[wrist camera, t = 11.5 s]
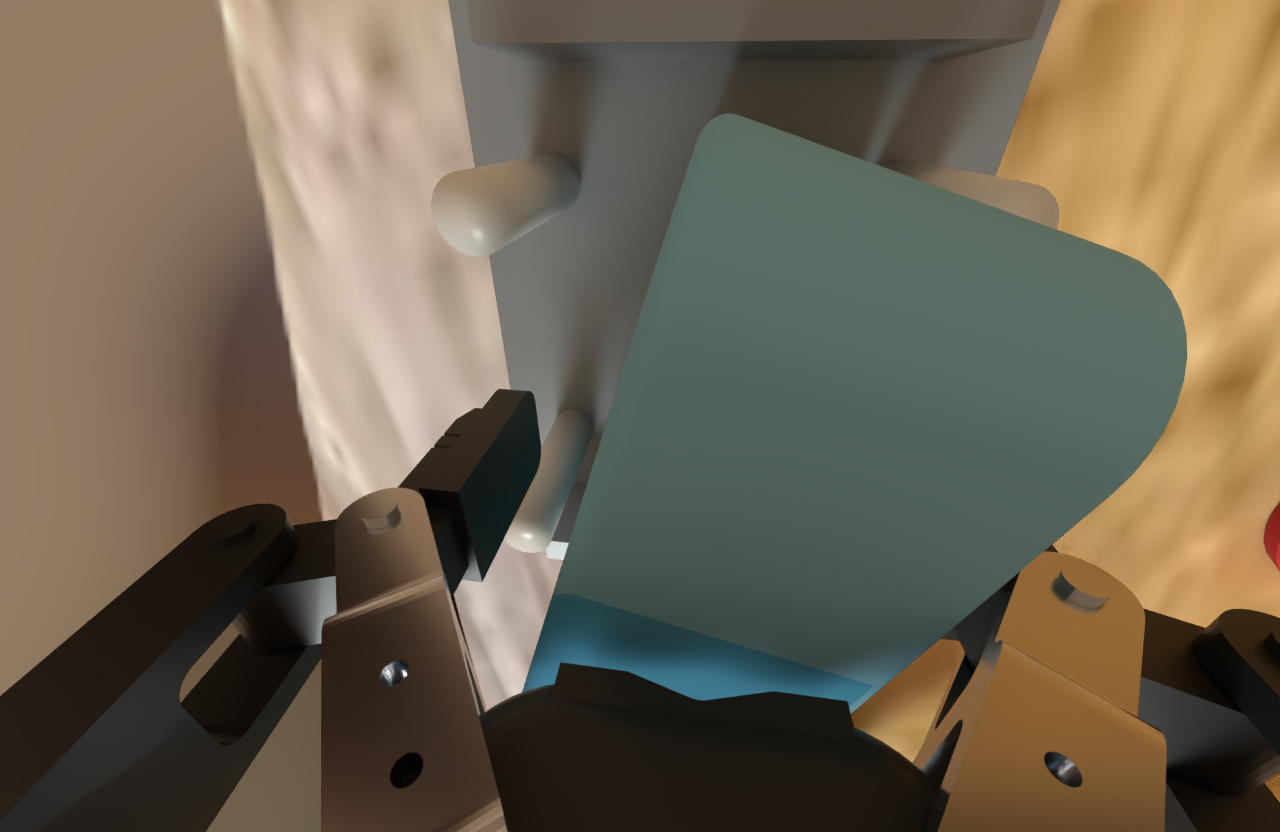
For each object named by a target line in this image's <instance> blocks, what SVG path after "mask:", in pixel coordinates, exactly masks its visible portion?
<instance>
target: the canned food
mask: <svg viewBox="0 0 1280 832" xmlns="http://www.w3.org/2000/svg"><path fill="white" fill-rule="evenodd" d="M1264 545H1265V549H1266V552H1267V554H1268V555H1269V557H1270V558H1271V560H1272V561H1273V562H1274V564H1275V565H1276V567H1277V568H1278V570H1279V571H1280V505H1279V506H1278V508H1277V509H1276V510H1275V511H1274V513H1273V514H1272V516H1271V518H1270V520H1269V522H1268V524H1267V527H1266V529H1265V535H1264Z"/></svg>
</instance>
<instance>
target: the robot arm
mask: <svg viewBox="0 0 1280 832" xmlns="http://www.w3.org/2000/svg"><path fill="white" fill-rule="evenodd" d="M540 460H541V441H540V433H539V426H538V418H537V410H536V402H535V398H534V395H533V393H532V392H531V391H521V390H507V389H498V390H497V391H496V392H495V393H494V394H493V396H492V397H491V398H490V399H489V401H488V402H487V403H486V404H485V406H484V407H483V408H482V409H481V408H474V409H473V410H471V411H469V412H468V413H466V414H464V415H463V416H461V417H459V418H458V419H456V420H455V421H454V423H453V424H452V425H451V426H450V427H449V428H448V430H447V431H446V432H445V433H444V436H442V437H441V438H440V439H439V440H438V441H437V442H436V444H435V447H434V448H431V449H430V451H429V452H428V453H427V454H426V455H425V456H424V457H423V459H422V460H421V461H420V462H419V463H418V464H417V466H416V467H415V468H414V469H413V470H412V471H411V473H410V474H409V475H408V476H407V477H406V478H405V480H404V481H403V482H402V483H401V484H400V485H399V487H398V488H389V489H383V490H379V491H376V492H373V493H370V494H368V495H366V496H363V497H361V498H360V499H358V500H356V501H355V502H353V503H352V504H350V505H349V506H348V507H347V508H346V509H345V510H344V511H343V512H342V513H341V514H340V515H339V517H338V519H335V520H328V521H321V522H313V523H307V524H299V525H292V524H291V521H290V520H289V518H288V516H287V514H286V512H285V511H284V510H283V509H282V508H281V507H279V506H277V505H273V504H254V505H248V506H244V507H240V508H237V509H234V510H231V511H228V512H226V513H224V514H222V515H219V516H217V517H215V518H214V519H212V520H210V521H209V522H207V523H205V524H204V525H202V526H201V527H200V528H198V529H197V530H196V531H195V532H193V533H192V534H191V535H190V536H189V537H187V538H186V539H185V540H184V541H183V542H182V543H180V544H179V545H178V546H177V547H176V548H175V549H173V550H172V551H171V552H170V553H168V554H167V555H166V556H165V557H164V558H163V559H161V560H160V561H159V562H158V563H157V564H156V565H154V566H153V567H152V568H151V569H150V570H148V571H147V572H146V573H145V574H144V575H143V576H141V577H140V578H139V579H138V580H137V581H135V582H134V583H133V584H132V585H131V586H130V587H128V588H127V589H126V590H125V591H124V592H122V593H121V594H120V595H119V596H118V597H117V598H115V599H114V600H113V601H112V602H111V603H109V604H108V605H107V606H106V607H105V608H104V609H102V610H101V611H100V612H99V613H98V614H97V615H96V616H94V617H93V618H92V619H91V620H89V621H88V622H87V623H86V624H85V625H84V626H82V627H81V628H80V629H79V630H78V631H77V632H75V633H74V634H73V635H72V636H71V637H69V638H68V639H67V640H66V641H65V642H63V643H62V644H61V645H60V646H59V647H58V648H57V649H55V650H54V651H53V652H52V653H51V654H50V655H48V656H47V657H46V658H45V659H43V660H42V661H41V662H40V663H39V664H38V665H36V667H34V668H33V669H32V670H30V671H29V672H28V673H27V674H26V675H25V676H23V677H22V678H21V679H20V680H19V681H18V682H16V683H15V684H14V685H13V686H12V687H11V688H9V689H8V690H7V691H6V692H4V693H3V694H2V695H1V696H0V832H206V831H207V829H208V828H209V826H210V825H211V823H212V821H213V820H214V819H215V817H216V816H217V814H218V812H219V811H220V809H221V808H222V807H223V805H224V804H225V802H226V800H227V799H228V798H229V796H230V794H231V793H232V792H233V790H234V789H235V787H236V785H237V784H238V782H239V781H240V779H241V778H242V776H243V775H244V773H245V772H246V770H247V769H248V767H249V766H250V764H251V763H252V761H253V760H254V758H255V757H256V755H257V754H258V752H259V751H260V749H261V748H262V746H263V745H264V743H265V742H266V740H267V739H268V737H269V736H270V734H271V733H272V731H273V730H274V728H275V727H276V725H277V724H278V722H279V721H280V719H281V718H282V716H283V715H284V713H285V712H286V710H287V709H288V707H289V706H290V704H291V703H292V701H293V700H294V698H295V697H296V695H297V694H298V692H299V691H300V689H301V688H302V686H303V685H304V683H305V682H306V680H307V679H308V677H309V676H310V674H311V673H312V671H313V670H314V668H315V667H316V665H317V664H318V662H319V661H320V659H321V832H1164V830H1165V832H1280V802H1279V801H1278V800H1277V798H1276V797H1275V796H1274V795H1273V793H1272V792H1271V791H1270V790H1269V788H1268V787H1267V786H1266V784H1265V783H1264V782H1266V781H1268V780H1269V779H1271V778H1273V777H1275V776H1276V775H1278V774H1280V618H1278V617H1275V616H1272V615H1269V614H1266V613H1262V612H1258V611H1253V610H1246V609H1231V610H1228V611H1225V612H1223V613H1222V614H1221V615H1220V616H1219V617H1218V618H1216V619H1215V620H1214V621H1213V622H1212V623H1211V624H1210V625H1209V626H1208V627H1207V628H1203V627H1200V626H1197V625H1194V624H1191V623H1188V622H1184V621H1181V620H1178V619H1175V618H1172V617H1169V616H1165V615H1162V614H1159V613H1156V612H1153V611H1150V610H1146V609H1143V607H1142V605H1141V604H1140V602H1139V601H1138V599H1137V598H1136V597H1135V596H1134V594H1133V593H1132V592H1131V591H1130V590H1129V589H1128V588H1127V587H1126V586H1125V585H1123V584H1122V583H1121V582H1120V581H1118V580H1117V579H1116V578H1114V577H1113V576H1112V575H1110V574H1109V573H1107V572H1105V571H1104V570H1102V569H1100V568H1098V567H1097V566H1095V565H1093V564H1090V563H1088V562H1086V561H1084V560H1081V559H1079V558H1076V557H1073V556H1070V555H1066V554H1062V553H1058V551H1057V550H1056V549H1055V548H1054V546H1053V545H1051V546H1050V547H1048V548H1047V549H1046V550H1045V551H1044V552H1043V553H1041V554H1040V555H1039V556H1038V557H1037V558H1035V559H1034V560H1033V561H1032V562H1031V563H1029V564H1028V565H1027V566H1026V567H1025V568H1024V569H1022V570H1021V571H1020V572H1019V573H1018V574H1016V575H1015V576H1014V577H1013V578H1012V579H1010V580H1009V581H1008V582H1007V583H1006V584H1005V585H1003V586H1002V587H1001V588H1000V589H999V590H997V591H996V592H995V593H994V594H993V595H991V596H990V597H989V598H988V599H987V600H986V601H984V602H983V603H982V604H981V605H980V606H978V607H977V608H976V609H975V610H974V611H972V612H971V613H970V614H969V615H968V616H967V617H965V618H964V619H963V620H962V621H961V622H959V623H958V624H957V625H956V626H955V627H953V628H952V629H951V630H950V631H949V632H948V633H946V634H945V635H944V636H943V637H942V638H940V639H949V640H957V641H960V643H961V645H962V647H963V649H964V651H965V652H964V653H963V655H962V656H961V658H960V659H959V661H958V663H957V665H956V667H955V670H954V672H953V674H952V677H951V679H950V682H949V684H948V686H947V689H946V691H945V693H944V696H943V698H942V700H941V703H940V705H939V707H938V710H937V712H936V715H935V717H934V719H933V722H932V724H931V726H930V729H929V731H928V733H927V736H926V738H925V740H924V742H923V744H922V747H921V749H920V750H919V752H918V754H917V756H916V758H915V759H914V761H913V763H912V762H910V761H909V760H908V759H907V758H905V757H904V756H903V755H902V754H900V753H899V752H897V751H896V750H894V749H893V748H891V747H890V746H888V745H887V744H885V743H883V742H882V741H880V740H878V739H876V738H875V737H873V736H871V735H869V734H867V733H865V732H863V731H861V730H859V729H856V728H854V727H853V722H852V718H851V714H850V709H849V705H848V701H843V700H836V699H829V698H821V697H814V696H806V695H799V694H792V693H784V692H777V691H770V692H763V693H756V694H748V695H741V696H734V697H726V698H719V699H712V700H696V699H693V698H690V697H688V696H685V695H683V694H681V693H678V692H676V691H673V690H671V689H669V688H666V687H664V686H662V685H659V684H657V683H654V682H652V681H650V680H647V679H645V678H642V677H640V676H638V675H635V674H633V673H631V672H628V671H622V670H615V669H607V668H600V667H593V666H585V665H578V664H570V663H563V662H560V666H559V669H558V673H557V676H556V680H555V684H553V685H546V686H542V687H538V688H535V689H531V690H527V691H525V692H522V693H520V694H517V695H515V696H513V697H510V698H508V699H507V700H505V701H503V702H501V703H499V704H497V705H495V706H494V707H492V708H491V709H489V710H488V711H487V709H486V706H485V702H484V699H483V696H482V692H481V689H480V686H479V682H478V679H477V675H476V671H475V668H474V664H473V661H472V657H471V653H470V650H469V646H468V642H467V639H466V635H465V631H464V628H463V624H462V621H461V617H460V613H459V610H458V606H457V602H456V599H455V596H454V593H455V591H456V589H457V587H458V585H459V583H460V582H461V580H469V581H477V582H482V581H483V579H484V577H485V575H486V573H487V571H488V569H489V567H490V565H491V563H492V561H493V559H494V557H495V555H496V553H497V551H498V549H499V547H500V545H501V543H502V541H503V539H504V537H505V535H506V533H507V531H508V529H509V527H510V525H511V523H512V521H513V519H514V517H515V515H516V513H517V511H518V509H519V507H520V505H521V503H522V501H523V499H524V497H525V495H526V493H527V491H528V489H529V487H530V485H531V483H532V481H533V479H534V477H535V475H536V473H537V471H538V469H539V465H540ZM231 622H232V623H233V624H234V626H235V627H236V629H237V630H238V631H239V633H240V634H239V635H238V636H237V638H236V639H235V640H234V641H233V642H232V644H231V645H230V646H229V647H228V648H227V649H226V650H225V652H224V653H223V654H222V655H221V656H220V658H219V659H218V660H217V661H216V662H215V663H214V665H213V666H212V667H211V668H210V669H209V671H208V672H207V673H206V674H205V675H204V676H203V677H202V679H201V680H200V681H199V682H198V683H197V685H196V686H195V687H194V688H193V689H192V690H191V691H190V693H189V694H188V695H187V696H186V697H185V698H184V700H183V701H182V702H181V703H180V699H179V694H180V688H181V685H182V682H183V680H184V678H185V676H186V674H187V673H188V671H189V670H190V669H191V667H192V666H193V665H194V664H195V663H196V662H197V660H198V659H199V658H200V657H201V656H202V655H203V654H204V653H205V651H206V650H207V649H208V648H209V647H210V646H211V645H212V644H213V643H214V641H215V640H216V639H217V638H218V637H219V636H220V635H221V634H222V632H223V631H224V630H225V629H226V628H227V627H228V626H229V624H230V623H231Z"/></svg>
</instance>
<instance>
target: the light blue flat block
mask: <svg viewBox="0 0 1280 832" xmlns="http://www.w3.org/2000/svg"><path fill="white" fill-rule="evenodd" d="M1186 361H1187V341H1186V330H1185V325H1184V321H1183V317H1182V313H1181V310H1180V308H1179V306H1178V304H1177V302H1176V300H1175V298H1174V296H1173V294H1172V292H1171V290H1170V289H1169V288H1168V286H1167V285H1166V284H1165V283H1164V282H1163V280H1162V279H1161V278H1160V277H1159V276H1158V275H1157V274H1156V273H1155V272H1154V271H1152V270H1151V269H1150V268H1148V267H1147V266H1146V265H1144V264H1143V263H1142V262H1140V261H1138V260H1136V259H1134V258H1132V257H1129V256H1127V255H1125V254H1123V253H1120V252H1118V251H1115V250H1112V249H1109V248H1107V247H1104V246H1101V245H1098V244H1095V243H1093V242H1090V241H1087V240H1084V239H1082V238H1079V237H1076V236H1073V235H1070V234H1068V233H1065V232H1062V231H1059V230H1057V229H1054V228H1051V227H1048V226H1045V225H1043V224H1040V223H1037V222H1034V221H1032V220H1029V219H1026V218H1023V217H1020V216H1018V215H1015V214H1012V213H1009V212H1007V211H1004V210H1001V209H998V208H995V207H993V206H990V205H987V204H984V203H982V202H979V201H976V200H973V199H970V198H968V197H965V196H962V195H959V194H957V193H954V192H951V191H948V190H945V189H943V188H940V187H937V186H934V185H932V184H929V183H926V182H923V181H920V180H918V179H915V178H912V177H909V176H907V175H904V174H901V173H898V172H895V171H893V170H890V169H887V168H884V167H882V166H879V165H876V164H873V163H870V162H868V161H865V160H862V159H859V158H856V157H854V156H851V155H848V154H845V153H843V152H840V151H837V150H834V149H831V148H829V147H826V146H823V145H820V144H818V143H815V142H812V141H809V140H806V139H804V138H801V137H798V136H795V135H793V134H790V133H787V132H784V131H781V130H779V129H776V128H773V127H770V126H768V125H765V124H762V123H759V122H756V121H754V120H751V119H748V118H745V117H743V116H740V115H737V114H731V113H730V114H722V115H719V116H717V117H715V118H713V119H712V120H711V121H709V122H708V123H707V124H706V126H705V127H704V128H703V130H702V131H701V133H700V135H699V137H698V140H697V142H696V145H695V148H694V151H693V153H692V156H691V159H690V162H689V165H688V168H687V171H686V174H685V177H684V180H683V183H682V186H681V189H680V192H679V195H678V198H677V201H676V204H675V207H674V210H673V213H672V216H671V219H670V222H669V225H668V228H667V231H666V234H665V238H664V241H663V244H662V247H661V250H660V253H659V256H658V259H657V262H656V266H655V269H654V272H653V275H652V278H651V281H650V284H649V287H648V291H647V294H646V297H645V300H644V303H643V306H642V310H641V313H640V316H639V319H638V322H637V326H636V329H635V332H634V335H633V338H632V342H631V345H630V348H629V351H628V354H627V358H626V361H625V364H624V367H623V371H622V374H621V377H620V380H619V383H618V387H617V390H616V393H615V396H614V399H613V403H612V406H611V409H610V412H609V415H608V419H607V422H606V425H605V428H604V431H603V435H602V438H601V441H600V444H599V448H598V451H597V454H596V457H595V460H594V464H593V467H592V470H591V473H590V476H589V480H588V483H587V486H586V489H585V492H584V496H583V499H582V502H581V505H580V508H579V512H578V515H577V518H576V521H575V525H574V528H573V531H572V534H571V537H570V541H569V544H568V547H567V550H566V553H565V557H564V560H563V563H562V566H561V569H560V573H559V576H558V579H557V582H556V585H555V589H554V592H553V595H552V598H551V602H550V605H549V608H548V611H547V614H546V618H545V621H544V624H543V627H542V630H541V634H540V637H539V640H538V643H537V646H536V650H535V653H534V656H533V659H532V662H531V666H530V669H529V672H528V675H527V679H526V682H525V685H524V688H523V691H522V692H525V691H527V690H531V689H535V688H538V687H542V686H546V685H553V684H555V680H556V676H557V673H558V669H559V666H560V662H563V663H570V664H578V665H585V666H593V667H600V668H607V669H615V670H622V671H628V672H631V673H633V674H635V675H638V676H640V677H642V678H645V679H647V680H650V681H652V682H654V683H657V684H659V685H662V686H664V687H666V688H669V689H671V690H673V691H676V692H678V693H681V694H683V695H685V696H688V697H690V698H693V699H696V700H712V699H719V698H726V697H734V696H741V695H748V694H756V693H763V692H770V691H777V692H784V693H792V694H799V695H806V696H814V697H821V698H829V699H836V700H843V701H848V705H849V709H850V714H851V713H853V712H854V711H855V710H856V709H857V708H859V707H860V706H861V705H862V704H863V703H864V702H866V701H867V700H868V699H869V698H870V697H872V696H873V695H874V694H875V693H876V692H878V691H879V690H880V689H881V688H882V687H883V686H885V685H886V684H887V683H888V682H889V681H891V680H892V679H893V678H894V677H895V676H897V675H898V674H899V673H900V672H901V671H902V670H904V669H905V668H906V667H907V666H908V665H910V664H911V663H912V662H913V661H914V660H916V659H917V658H918V657H919V656H920V655H921V654H923V653H924V652H925V651H926V650H927V649H929V648H930V647H931V646H932V645H933V644H934V643H936V642H937V641H938V640H939V639H940V638H942V637H943V636H944V635H945V634H946V633H948V632H949V631H950V630H951V629H952V628H953V627H955V626H956V625H957V624H958V623H959V622H961V621H962V620H963V619H964V618H965V617H967V616H968V615H969V614H970V613H971V612H972V611H974V610H975V609H976V608H977V607H978V606H980V605H981V604H982V603H983V602H984V601H986V600H987V599H988V598H989V597H990V596H991V595H993V594H994V593H995V592H996V591H997V590H999V589H1000V588H1001V587H1002V586H1003V585H1005V584H1006V583H1007V582H1008V581H1009V580H1010V579H1012V578H1013V577H1014V576H1015V575H1016V574H1018V573H1019V572H1020V571H1021V570H1022V569H1024V568H1025V567H1026V566H1027V565H1028V564H1029V563H1031V562H1032V561H1033V560H1034V559H1035V558H1037V557H1038V556H1039V555H1040V554H1041V553H1043V552H1044V551H1045V550H1046V549H1047V548H1048V547H1050V546H1051V545H1052V544H1053V543H1054V542H1056V541H1057V540H1058V539H1059V538H1060V537H1062V536H1063V535H1064V534H1065V533H1066V532H1067V531H1069V530H1070V529H1071V528H1072V527H1073V526H1075V525H1076V524H1077V523H1078V522H1079V521H1080V520H1082V519H1083V518H1084V517H1085V516H1086V515H1088V514H1089V513H1090V512H1091V511H1092V510H1094V509H1095V508H1096V507H1097V506H1098V505H1099V504H1101V503H1102V502H1103V501H1104V500H1105V499H1107V498H1108V497H1109V496H1110V495H1111V494H1112V493H1114V492H1115V491H1116V490H1117V489H1118V488H1119V487H1120V486H1121V485H1122V484H1123V483H1124V482H1125V481H1126V480H1127V479H1128V478H1129V477H1130V476H1131V475H1132V474H1133V473H1134V472H1135V471H1136V470H1137V468H1138V467H1139V466H1140V465H1141V463H1142V462H1143V461H1144V460H1145V459H1146V457H1147V456H1148V455H1149V454H1150V452H1151V451H1152V449H1153V448H1154V446H1155V445H1156V443H1157V441H1158V440H1159V438H1160V437H1161V435H1162V434H1163V432H1164V430H1165V428H1166V426H1167V424H1168V422H1169V420H1170V418H1171V416H1172V413H1173V411H1174V409H1175V407H1176V404H1177V401H1178V398H1179V395H1180V391H1181V388H1182V385H1183V382H1184V375H1185V368H1186Z"/></svg>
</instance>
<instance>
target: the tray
mask: <svg viewBox="0 0 1280 832" xmlns="http://www.w3.org/2000/svg"><path fill="white" fill-rule="evenodd" d="M448 1H449V7H450V13H451V19H452V26H453V32H454V38H455V44H456V51H457V57H458V63H459V69H460V76H461V82H462V88H463V94H464V101H465V107H466V113H467V119H468V126H469V132H470V138H471V144H472V151H473V157H474V163H475V168H472V169H467V170H461V171H456V172H452V173H450V174H447V175H446V176H444V177H443V178H442V179H441V180H440V181H439V182H438V183H437V185H436V187H435V189H434V191H433V195H432V201H431V209H432V215H433V219H434V222H435V224H436V227H437V229H438V231H439V232H440V234H441V235H442V237H443V238H444V239H445V240H446V241H447V242H448V244H450V245H451V246H452V247H453V248H454V249H456V250H457V251H459V252H461V253H463V254H466V255H469V256H474V257H483V256H488V255H489V257H490V263H491V269H492V276H493V282H494V288H495V294H496V301H497V307H498V313H499V319H500V326H501V332H502V338H503V344H504V351H505V357H506V363H507V369H508V376H509V382H510V388H511V390H521V391H531V392H532V393H533V395H534V398H535V402H536V410H537V418H538V426H539V433H540V441H541V460H540V465H539V469H538V471H537V473H536V475H535V477H534V479H533V481H532V483H531V485H530V487H529V489H528V491H527V493H526V495H525V497H524V499H523V501H522V503H521V505H520V507H519V509H518V511H517V513H516V515H515V517H514V519H513V521H512V523H511V525H510V527H509V529H508V531H507V533H506V535H505V537H504V540H505V541H506V542H507V543H508V544H509V545H510V546H512V547H513V548H515V549H517V550H520V551H523V552H528V553H536V552H541V551H543V550H545V549H546V555H547V558H551V559H560V560H564V557H565V553H566V550H567V547H568V544H569V541H570V537H571V534H572V531H573V528H574V525H575V521H576V518H577V515H578V512H579V508H580V505H581V502H582V499H583V496H584V492H585V489H586V486H587V483H588V480H589V476H590V473H591V470H592V467H593V464H594V460H595V457H596V454H597V451H598V448H599V444H600V441H601V438H602V435H603V431H604V428H605V425H606V422H607V419H608V415H609V412H610V409H611V406H612V403H613V399H614V396H615V393H616V390H617V387H618V383H619V380H620V377H621V374H622V371H623V367H624V364H625V361H626V358H627V354H628V351H629V348H630V345H631V342H632V338H633V335H634V332H635V329H636V326H637V322H638V319H639V316H640V313H641V310H642V306H643V303H644V300H645V297H646V294H647V291H648V287H649V284H650V281H651V278H652V275H653V272H654V269H655V266H656V262H657V259H658V256H659V253H660V250H661V247H662V244H663V241H664V238H665V234H666V231H667V228H668V225H669V222H670V219H671V216H672V213H673V210H674V207H675V204H676V201H677V198H678V195H679V192H680V189H681V186H682V183H683V180H684V177H685V174H686V171H687V168H688V165H689V162H690V159H691V156H692V153H693V151H694V148H695V145H696V142H697V140H698V137H699V135H700V133H701V131H702V130H703V128H704V127H705V126H706V124H707V123H708V122H709V121H711V120H712V119H713V118H715V117H717V116H719V115H722V114H730V113H731V114H737V115H740V116H743V117H745V118H748V119H751V120H754V121H756V122H759V123H762V124H765V125H768V126H770V127H773V128H776V129H779V130H781V131H784V132H787V133H790V134H793V135H795V136H798V137H801V138H804V139H806V140H809V141H812V142H815V143H818V144H820V145H823V146H826V147H829V148H831V149H834V150H837V151H840V152H843V153H845V154H848V155H851V156H854V157H856V158H859V159H862V160H865V161H868V162H870V163H873V164H876V165H879V166H882V167H884V168H887V169H890V170H893V171H895V172H898V173H901V174H904V175H907V176H909V177H912V178H915V179H918V180H920V181H923V182H926V183H929V184H932V185H934V186H937V187H940V188H943V189H945V190H948V191H951V192H954V193H957V194H959V195H962V196H965V197H968V198H970V199H973V200H976V201H979V202H982V203H984V204H987V205H990V206H993V207H995V208H998V209H1001V210H1004V211H1007V212H1009V213H1012V214H1015V215H1018V216H1020V217H1023V218H1026V219H1029V220H1032V221H1034V222H1037V223H1040V224H1043V225H1045V226H1048V227H1051V228H1054V229H1057V226H1058V222H1059V208H1058V204H1057V201H1056V199H1055V198H1054V196H1053V195H1052V194H1051V193H1050V192H1049V191H1048V190H1047V189H1045V188H1044V187H1041V186H1039V185H1035V184H1031V183H1026V182H1021V181H1016V180H1011V179H1005V178H1000V177H995V175H996V173H997V170H998V167H999V165H1000V162H1001V159H1002V156H1003V154H1004V151H1005V148H1006V146H1007V143H1008V140H1009V137H1010V135H1011V132H1012V129H1013V127H1014V124H1015V121H1016V119H1017V116H1018V113H1019V110H1020V108H1021V105H1022V102H1023V100H1024V97H1025V94H1026V91H1027V89H1028V86H1029V83H1030V81H1031V78H1032V75H1033V73H1034V70H1035V67H1036V64H1037V62H1038V59H1039V56H1040V54H1041V51H1042V48H1043V46H1044V43H1045V40H1046V37H1047V35H1048V32H1049V29H1050V27H1051V24H1052V21H1053V18H1054V16H1055V13H1056V10H1057V8H1058V5H1059V2H1060V0H448Z"/></svg>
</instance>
